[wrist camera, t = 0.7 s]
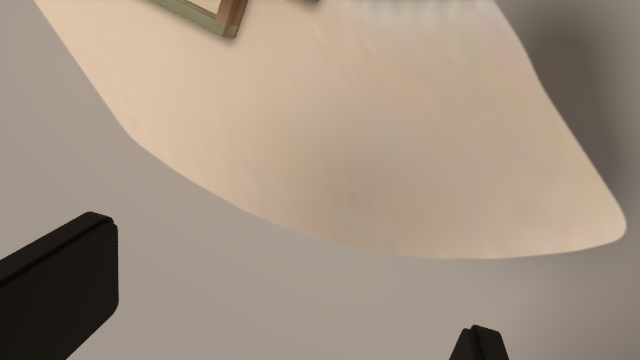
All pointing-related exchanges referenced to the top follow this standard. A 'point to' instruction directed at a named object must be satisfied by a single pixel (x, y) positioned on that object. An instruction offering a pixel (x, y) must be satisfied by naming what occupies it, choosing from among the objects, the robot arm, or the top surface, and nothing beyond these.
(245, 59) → the top surface
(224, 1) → the trap lane
